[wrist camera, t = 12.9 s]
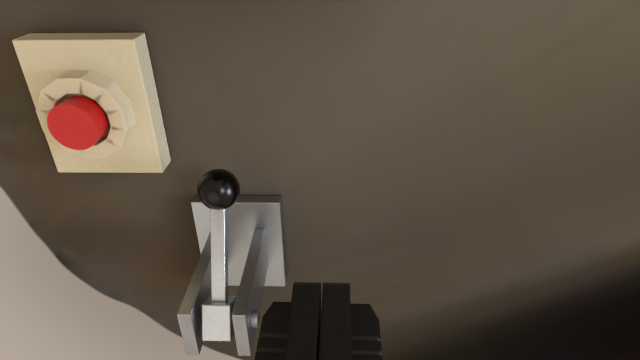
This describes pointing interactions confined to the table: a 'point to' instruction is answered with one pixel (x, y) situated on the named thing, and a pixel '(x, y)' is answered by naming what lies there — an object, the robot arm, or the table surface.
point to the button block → (99, 97)
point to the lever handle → (218, 253)
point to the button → (77, 122)
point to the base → (237, 267)
